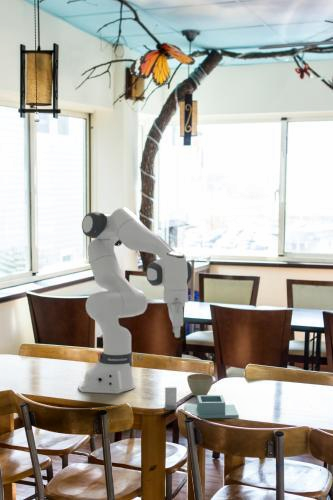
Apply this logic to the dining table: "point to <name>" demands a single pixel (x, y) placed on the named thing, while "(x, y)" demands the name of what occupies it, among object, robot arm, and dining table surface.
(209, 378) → the flower pot
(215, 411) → the well
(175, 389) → the gray rectangular block
